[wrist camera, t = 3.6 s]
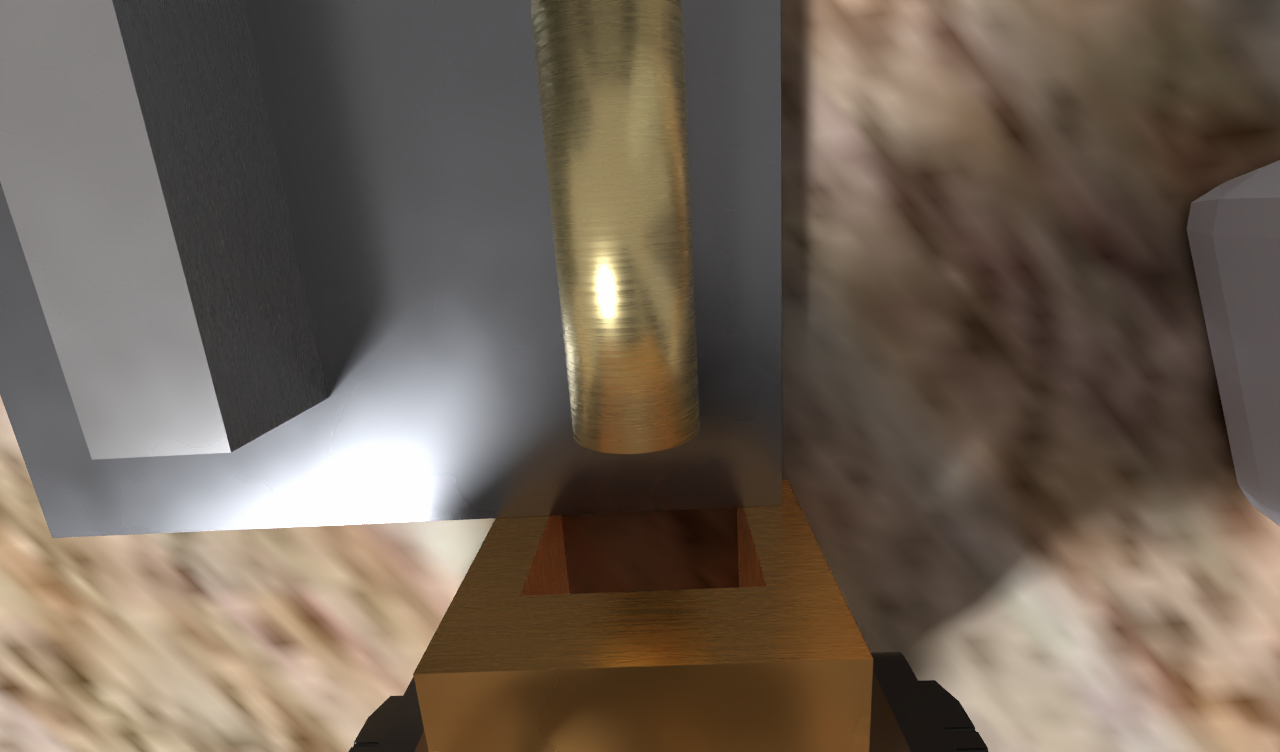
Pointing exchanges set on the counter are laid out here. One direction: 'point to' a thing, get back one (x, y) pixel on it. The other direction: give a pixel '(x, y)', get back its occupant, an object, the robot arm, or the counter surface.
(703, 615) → the block
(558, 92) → the pin
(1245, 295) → the soap bottle
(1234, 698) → the counter surface
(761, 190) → the stand
